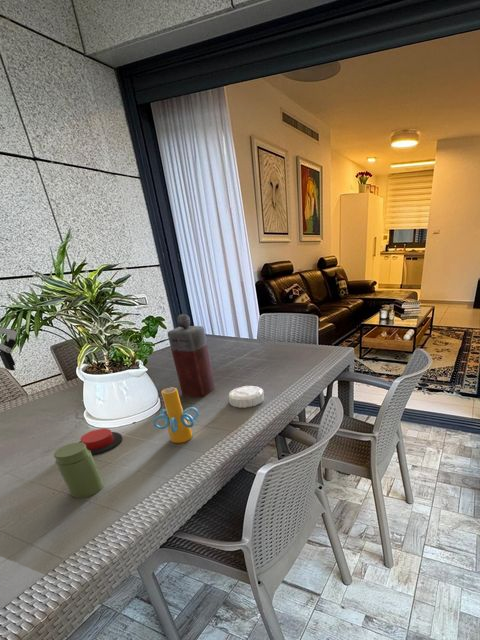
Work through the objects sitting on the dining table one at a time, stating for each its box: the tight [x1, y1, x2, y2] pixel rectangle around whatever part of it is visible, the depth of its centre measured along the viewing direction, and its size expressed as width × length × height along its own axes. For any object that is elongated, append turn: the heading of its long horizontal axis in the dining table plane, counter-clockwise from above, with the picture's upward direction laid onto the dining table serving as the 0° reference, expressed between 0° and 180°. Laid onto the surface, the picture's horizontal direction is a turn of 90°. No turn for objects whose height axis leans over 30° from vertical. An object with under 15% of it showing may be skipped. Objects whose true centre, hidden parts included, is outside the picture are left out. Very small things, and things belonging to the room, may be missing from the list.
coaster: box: [78, 431, 123, 456], centre depth 100 cm, size 12×12×1 cm
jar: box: [53, 442, 105, 499], centre depth 80 cm, size 7×7×11 cm
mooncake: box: [227, 385, 265, 409], centre depth 122 cm, size 12×12×4 cm
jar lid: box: [80, 428, 114, 450], centre depth 100 cm, size 8×8×2 cm
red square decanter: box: [167, 314, 217, 398], centre depth 125 cm, size 9×11×28 cm
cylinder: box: [152, 387, 200, 444], centre depth 98 cm, size 12×10×15 cm
